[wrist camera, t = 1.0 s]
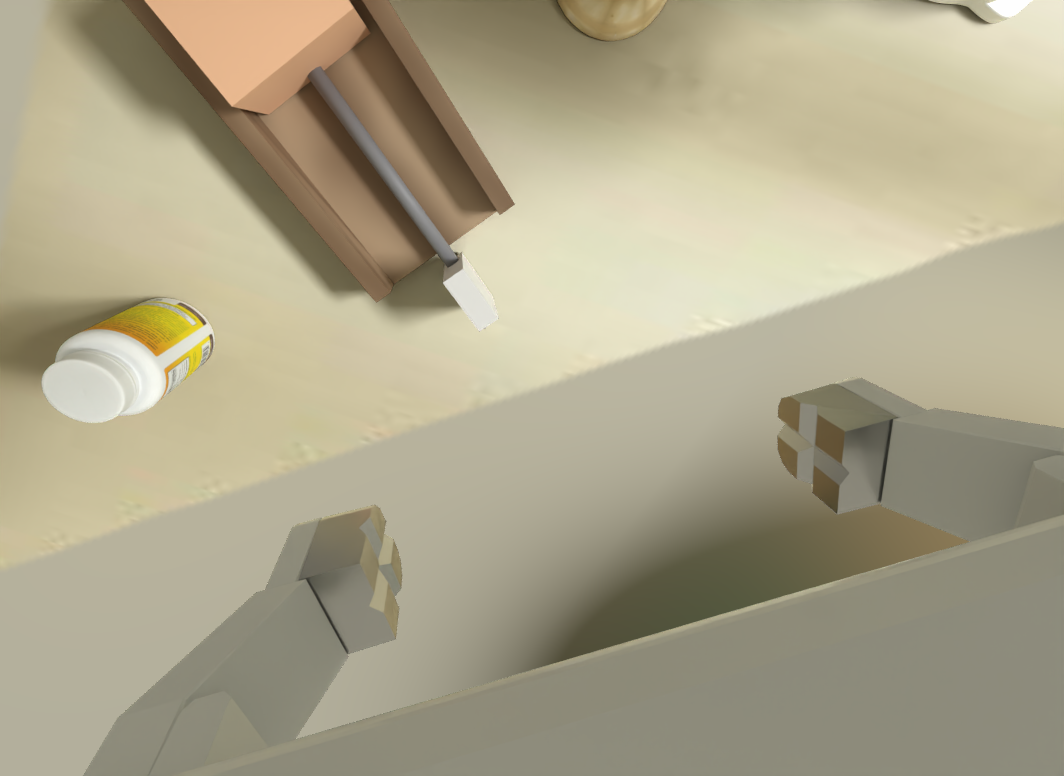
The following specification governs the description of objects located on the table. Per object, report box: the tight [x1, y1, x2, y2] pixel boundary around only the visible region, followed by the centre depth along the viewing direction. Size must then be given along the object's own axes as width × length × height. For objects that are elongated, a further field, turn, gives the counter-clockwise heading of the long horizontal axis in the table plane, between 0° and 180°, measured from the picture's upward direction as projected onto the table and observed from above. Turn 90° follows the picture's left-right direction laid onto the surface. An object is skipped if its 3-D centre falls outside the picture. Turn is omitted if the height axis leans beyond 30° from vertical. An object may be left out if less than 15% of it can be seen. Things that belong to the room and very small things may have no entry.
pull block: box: [145, 0, 499, 331], centre depth 30 cm, size 8×24×6 cm, turn 33°
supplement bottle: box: [42, 298, 215, 423], centre depth 32 cm, size 6×6×10 cm
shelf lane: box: [122, 0, 515, 303], centre depth 30 cm, size 12×20×4 cm, turn 33°
